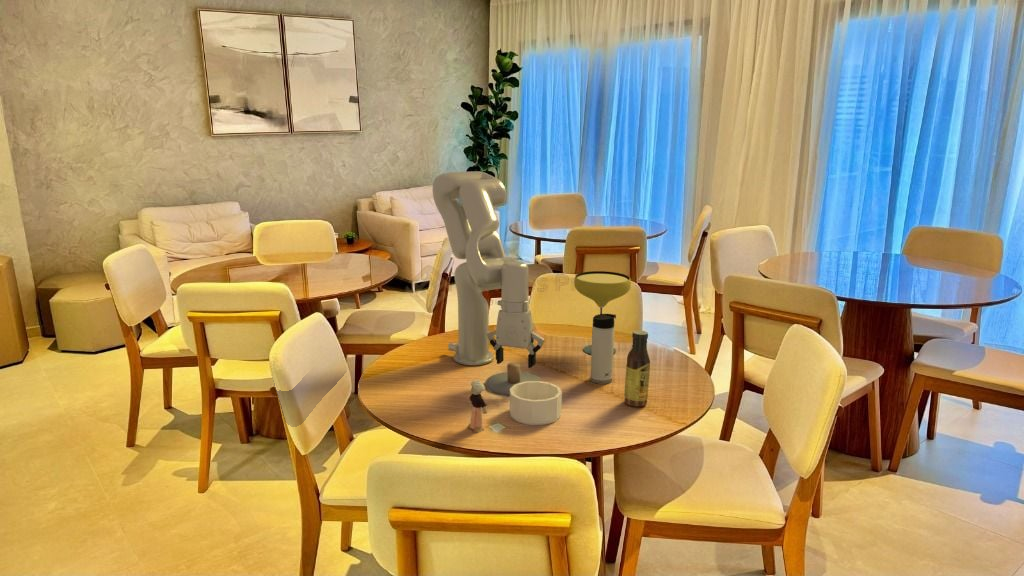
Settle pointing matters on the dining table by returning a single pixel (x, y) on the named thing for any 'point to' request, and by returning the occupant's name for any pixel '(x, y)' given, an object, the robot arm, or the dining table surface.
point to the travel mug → (602, 348)
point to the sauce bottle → (637, 371)
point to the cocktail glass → (601, 289)
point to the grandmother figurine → (477, 406)
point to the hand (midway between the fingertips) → (515, 364)
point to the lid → (509, 379)
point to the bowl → (535, 402)
